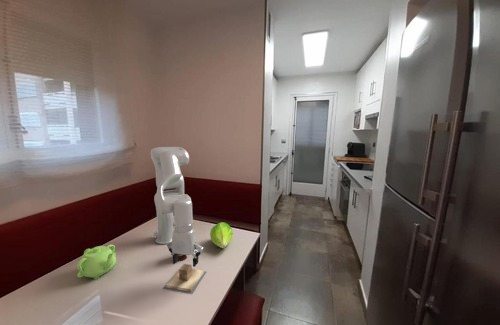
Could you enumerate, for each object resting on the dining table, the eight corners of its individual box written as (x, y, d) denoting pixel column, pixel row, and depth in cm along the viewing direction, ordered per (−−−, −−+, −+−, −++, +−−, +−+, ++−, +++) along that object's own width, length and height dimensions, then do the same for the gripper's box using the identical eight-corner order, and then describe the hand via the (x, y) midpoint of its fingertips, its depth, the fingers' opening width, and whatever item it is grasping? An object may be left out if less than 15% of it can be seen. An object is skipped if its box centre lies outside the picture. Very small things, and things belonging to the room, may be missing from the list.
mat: (162, 289, 85) (162, 288, 85) (180, 268, 98) (180, 267, 98) (192, 295, 82) (192, 294, 82) (206, 272, 95) (206, 271, 95)
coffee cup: (183, 265, 101) (182, 241, 99) (169, 263, 102) (168, 239, 101) (192, 255, 109) (191, 233, 107) (178, 253, 111) (177, 231, 109)
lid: (166, 287, 85) (165, 274, 84) (181, 269, 97) (180, 257, 96) (191, 292, 83) (190, 278, 82) (203, 272, 94) (203, 260, 94)
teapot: (123, 259, 105) (122, 237, 103) (115, 277, 92) (113, 252, 90) (86, 266, 99) (84, 242, 98) (73, 286, 86) (69, 259, 85)
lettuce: (209, 257, 108) (209, 236, 106) (210, 238, 127) (210, 220, 126) (234, 254, 110) (234, 234, 108) (232, 236, 130) (232, 219, 128)
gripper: (161, 229, 84) (163, 266, 86) (198, 233, 81) (199, 271, 83) (171, 222, 92) (173, 256, 94) (206, 225, 88) (207, 260, 90)
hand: (185, 263), depth 88 cm, fingers open, 9 cm apart
